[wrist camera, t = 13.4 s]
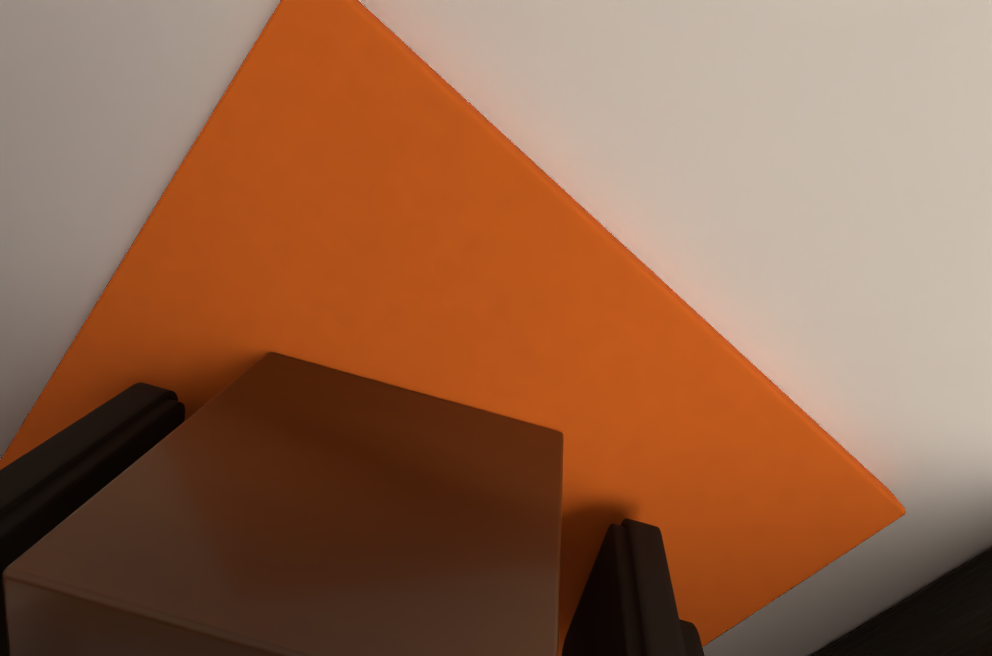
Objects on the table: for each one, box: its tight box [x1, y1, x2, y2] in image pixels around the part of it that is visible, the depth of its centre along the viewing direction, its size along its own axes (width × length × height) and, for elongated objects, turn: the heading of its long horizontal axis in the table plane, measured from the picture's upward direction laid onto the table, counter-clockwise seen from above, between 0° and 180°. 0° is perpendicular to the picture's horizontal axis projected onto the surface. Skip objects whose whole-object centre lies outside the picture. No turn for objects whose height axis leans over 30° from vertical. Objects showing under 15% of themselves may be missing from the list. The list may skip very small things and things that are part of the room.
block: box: [2, 352, 564, 656], centre depth 8 cm, size 5×5×5 cm
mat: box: [0, 0, 906, 656], centre depth 11 cm, size 12×12×1 cm
